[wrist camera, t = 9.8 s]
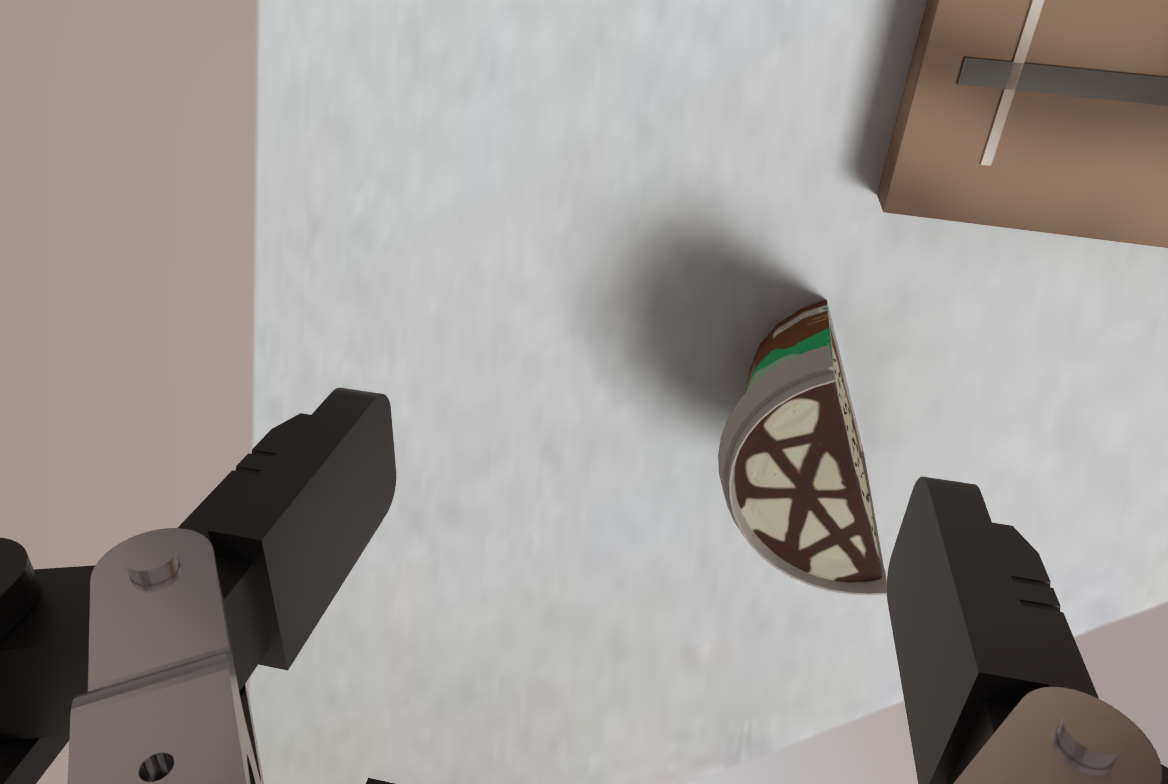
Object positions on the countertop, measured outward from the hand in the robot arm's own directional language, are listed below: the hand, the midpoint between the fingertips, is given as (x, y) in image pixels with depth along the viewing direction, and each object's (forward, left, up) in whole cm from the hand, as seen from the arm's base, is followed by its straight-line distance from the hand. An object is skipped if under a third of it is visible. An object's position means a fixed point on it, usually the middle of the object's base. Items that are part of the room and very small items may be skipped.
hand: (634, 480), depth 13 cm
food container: (+14, +5, -29) cm, 33 cm away
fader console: (-3, +16, -29) cm, 34 cm away
